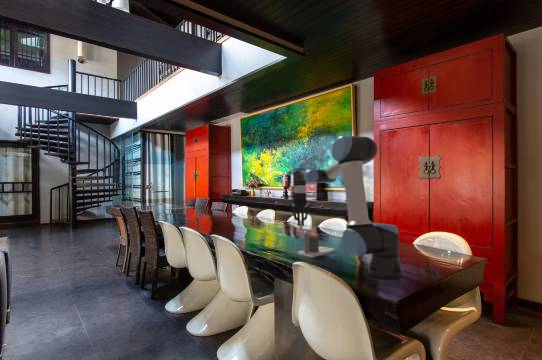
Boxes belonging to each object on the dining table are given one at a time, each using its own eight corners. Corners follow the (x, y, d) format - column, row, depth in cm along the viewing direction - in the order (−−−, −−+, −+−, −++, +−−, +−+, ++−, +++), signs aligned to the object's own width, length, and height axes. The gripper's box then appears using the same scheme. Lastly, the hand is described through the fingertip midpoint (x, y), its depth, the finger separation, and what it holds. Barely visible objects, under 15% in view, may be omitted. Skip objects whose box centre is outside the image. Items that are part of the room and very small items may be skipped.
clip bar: (309, 234, 168) (309, 231, 168) (304, 234, 167) (304, 231, 167) (297, 229, 184) (297, 227, 184) (293, 230, 183) (293, 227, 183)
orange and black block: (314, 254, 171) (313, 235, 171) (308, 253, 174) (308, 234, 174) (318, 253, 173) (318, 234, 173) (313, 252, 176) (313, 233, 176)
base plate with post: (312, 259, 164) (311, 235, 164) (297, 255, 172) (297, 233, 172) (335, 253, 178) (334, 230, 178) (320, 250, 186) (320, 229, 186)
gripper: (310, 192, 183) (312, 230, 183) (290, 192, 186) (291, 230, 185) (310, 192, 176) (311, 232, 175) (288, 193, 178) (289, 232, 178)
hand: (301, 231), depth 180 cm, fingers closed
